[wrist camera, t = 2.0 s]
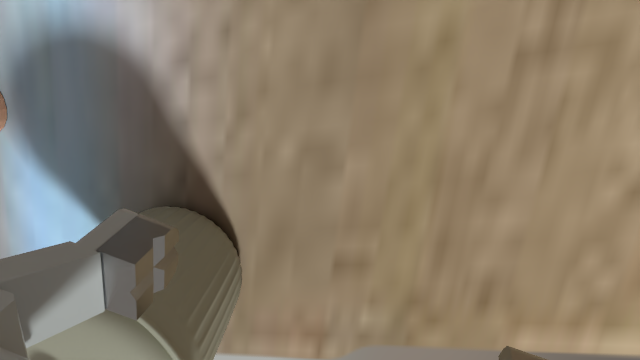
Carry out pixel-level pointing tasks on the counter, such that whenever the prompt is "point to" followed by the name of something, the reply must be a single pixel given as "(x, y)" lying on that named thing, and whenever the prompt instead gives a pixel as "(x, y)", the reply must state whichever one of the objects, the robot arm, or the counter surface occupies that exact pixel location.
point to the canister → (165, 304)
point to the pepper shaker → (2, 112)
